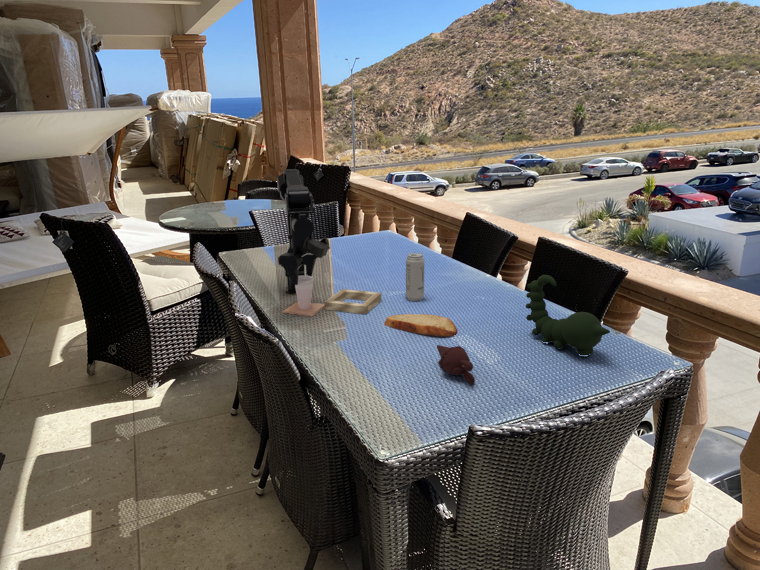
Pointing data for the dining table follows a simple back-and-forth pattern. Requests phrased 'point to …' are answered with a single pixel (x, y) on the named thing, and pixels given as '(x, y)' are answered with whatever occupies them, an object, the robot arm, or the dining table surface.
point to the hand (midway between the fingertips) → (303, 280)
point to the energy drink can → (415, 277)
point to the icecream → (456, 362)
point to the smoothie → (304, 290)
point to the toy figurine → (563, 322)
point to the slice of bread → (422, 324)
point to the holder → (338, 305)
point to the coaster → (307, 312)
